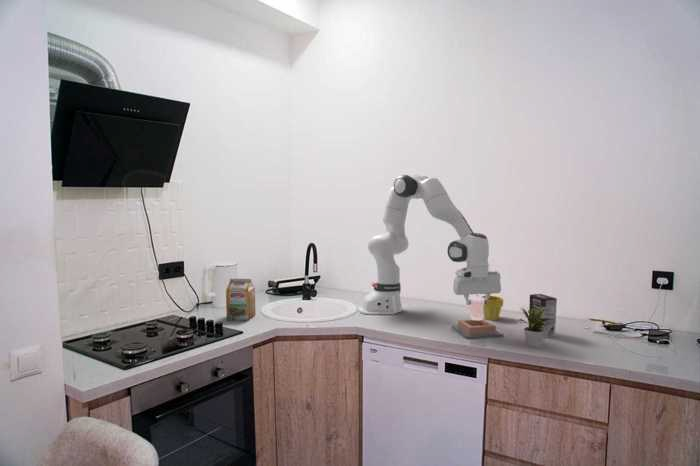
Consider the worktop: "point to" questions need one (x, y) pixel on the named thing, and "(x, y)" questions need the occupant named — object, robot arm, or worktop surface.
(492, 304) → the plant pot
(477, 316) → the beverage cup
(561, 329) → the worktop surface
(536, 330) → the house plant
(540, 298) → the coffee box
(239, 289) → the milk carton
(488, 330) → the cup holder
